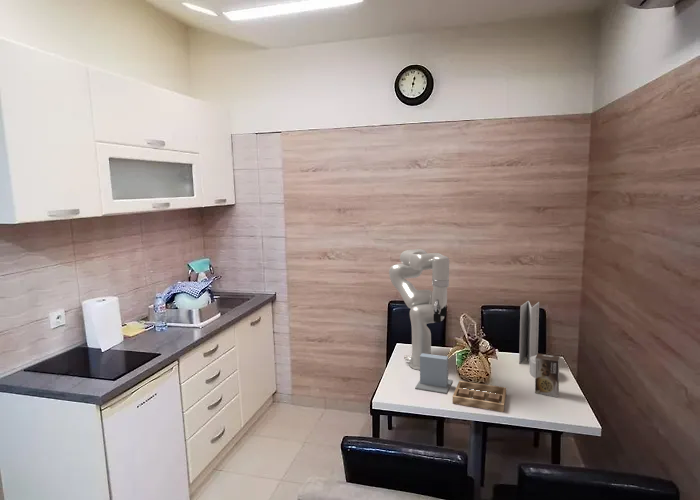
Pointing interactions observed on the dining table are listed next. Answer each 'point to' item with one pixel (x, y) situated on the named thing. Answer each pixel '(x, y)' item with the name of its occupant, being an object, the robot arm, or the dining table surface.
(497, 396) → the offcut
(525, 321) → the brochure
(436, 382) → the panel
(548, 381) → the cookie box
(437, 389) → the mat
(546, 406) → the dining table surface
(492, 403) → the tray
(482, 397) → the offcut
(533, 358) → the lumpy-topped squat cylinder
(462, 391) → the offcut
